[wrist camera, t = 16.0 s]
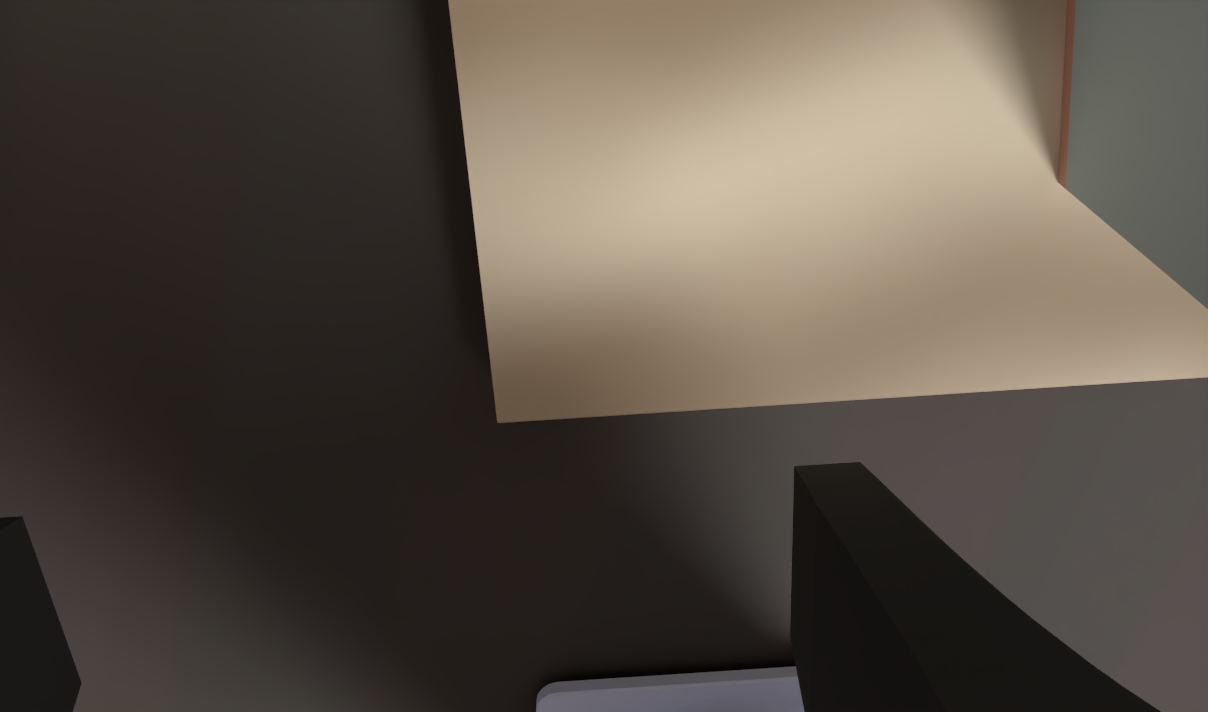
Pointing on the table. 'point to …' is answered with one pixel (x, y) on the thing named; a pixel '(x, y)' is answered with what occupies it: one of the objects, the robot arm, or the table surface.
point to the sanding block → (1141, 127)
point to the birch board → (790, 208)
